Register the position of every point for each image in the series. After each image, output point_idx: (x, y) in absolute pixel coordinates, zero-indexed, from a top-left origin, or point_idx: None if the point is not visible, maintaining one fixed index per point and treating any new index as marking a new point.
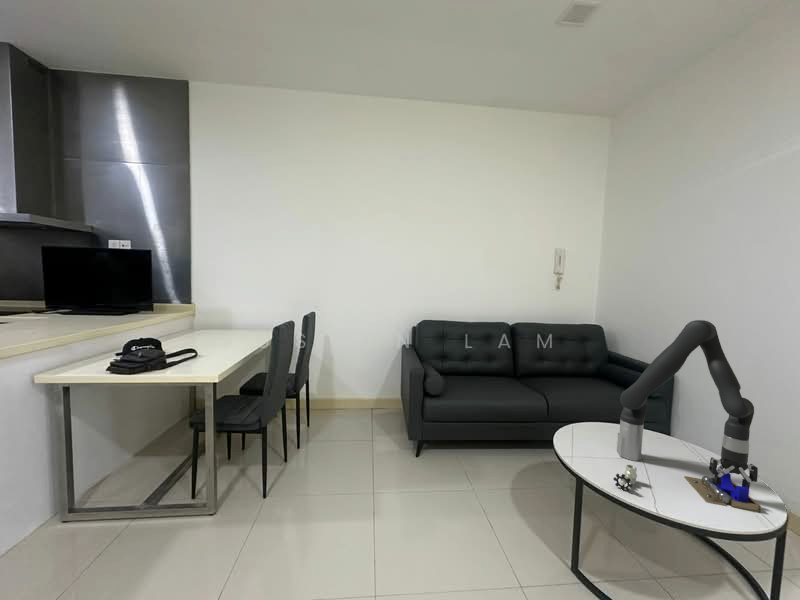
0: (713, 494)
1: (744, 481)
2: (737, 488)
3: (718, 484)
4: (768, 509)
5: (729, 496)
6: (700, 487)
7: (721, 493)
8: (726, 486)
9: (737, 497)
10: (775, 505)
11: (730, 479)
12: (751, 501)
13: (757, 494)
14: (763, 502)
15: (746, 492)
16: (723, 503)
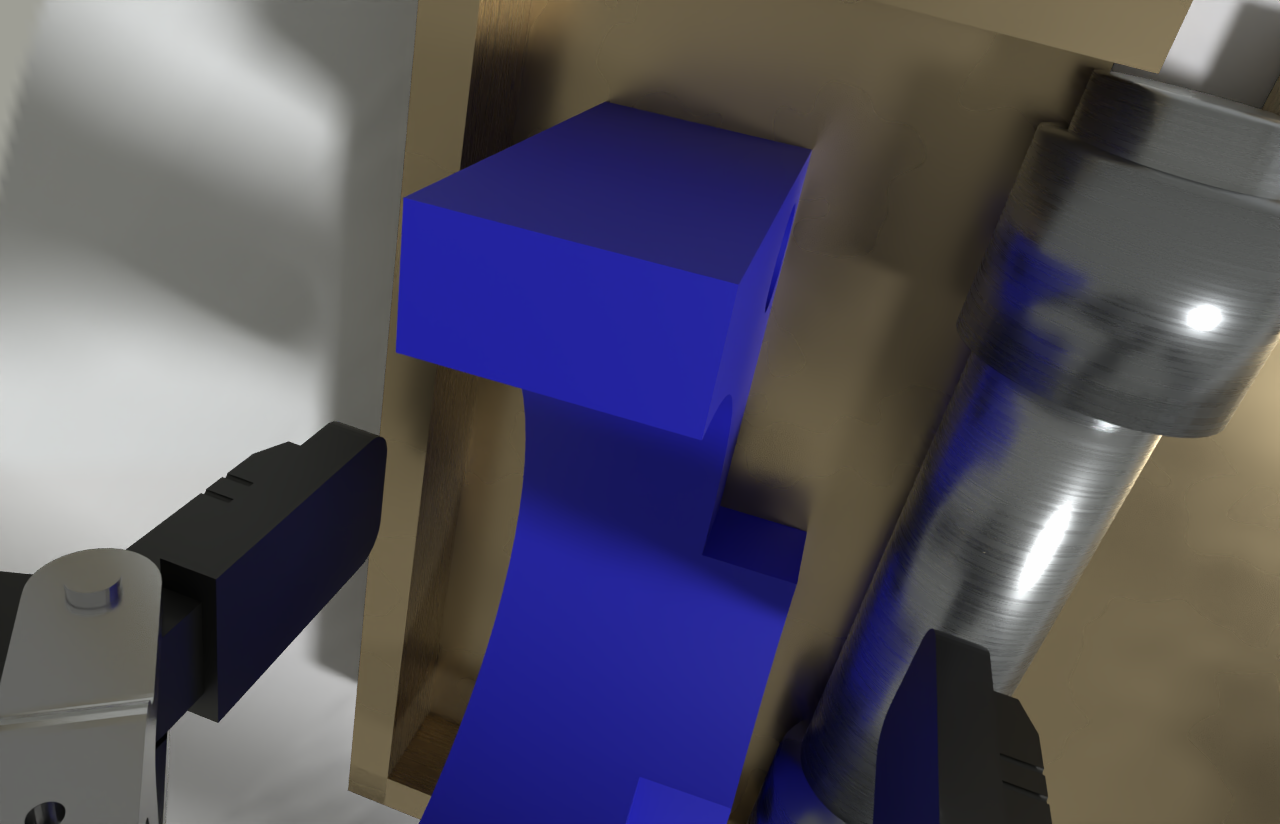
0: (1200, 457)
1: (236, 629)
2: (730, 354)
3: (985, 673)
4: (233, 22)
5: (1133, 173)
6: (1244, 710)
7: (1262, 328)
8: (646, 649)
9: (784, 222)
10: (26, 192)
11: (439, 795)
12: (484, 124)
13: (135, 496)
14: (179, 271)
15: (536, 187)
16: None
